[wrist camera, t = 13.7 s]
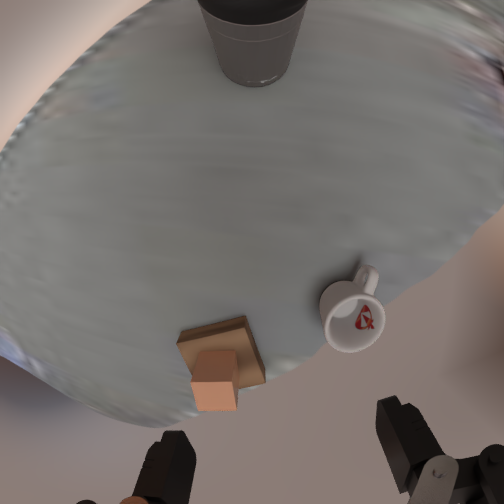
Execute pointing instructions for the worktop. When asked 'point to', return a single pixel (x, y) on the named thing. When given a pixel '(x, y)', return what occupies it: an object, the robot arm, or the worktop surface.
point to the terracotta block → (216, 381)
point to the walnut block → (225, 348)
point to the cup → (352, 312)
